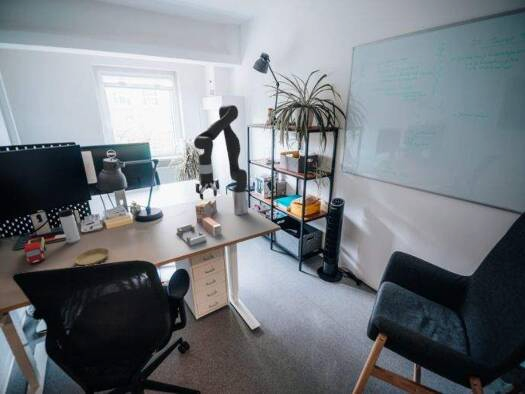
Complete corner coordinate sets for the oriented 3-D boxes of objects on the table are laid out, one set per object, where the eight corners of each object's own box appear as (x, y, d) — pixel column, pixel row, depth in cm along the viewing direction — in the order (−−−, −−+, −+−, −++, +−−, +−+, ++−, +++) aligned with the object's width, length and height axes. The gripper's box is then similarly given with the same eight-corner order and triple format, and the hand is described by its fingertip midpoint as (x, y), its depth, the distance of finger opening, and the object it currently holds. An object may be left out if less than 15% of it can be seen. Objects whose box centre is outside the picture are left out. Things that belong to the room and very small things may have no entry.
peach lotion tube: (209, 225, 163) (208, 216, 161) (221, 233, 152) (221, 225, 150) (203, 227, 161) (202, 218, 159) (215, 236, 149) (214, 227, 147)
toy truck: (28, 267, 121) (21, 249, 117) (32, 249, 136) (26, 233, 133) (46, 262, 124) (40, 245, 121) (48, 245, 140) (42, 230, 136)
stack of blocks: (209, 210, 188) (207, 195, 183) (216, 211, 186) (215, 195, 182) (196, 222, 168) (195, 205, 164) (205, 223, 167) (203, 206, 163)
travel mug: (70, 245, 140) (60, 212, 134) (65, 242, 144) (55, 210, 137) (82, 240, 145) (73, 209, 139) (77, 237, 149) (68, 206, 142)
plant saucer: (94, 270, 118) (93, 265, 118) (68, 267, 121) (66, 262, 120) (116, 253, 132) (115, 249, 131) (92, 251, 135) (91, 246, 134)
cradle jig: (191, 228, 158) (191, 223, 157) (206, 241, 143) (206, 235, 142) (176, 233, 152) (175, 227, 151) (190, 246, 137) (189, 240, 136)
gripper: (214, 168, 150) (216, 193, 156) (192, 172, 142) (195, 198, 148) (220, 170, 145) (222, 196, 150) (197, 174, 136) (200, 202, 142)
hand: (208, 197), depth 149 cm, fingers open, 8 cm apart
